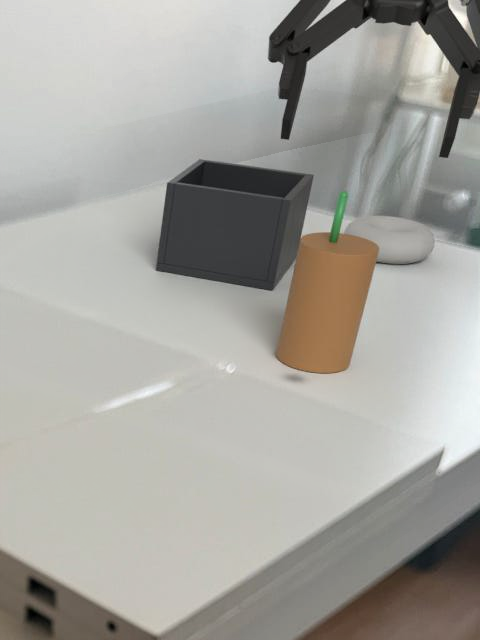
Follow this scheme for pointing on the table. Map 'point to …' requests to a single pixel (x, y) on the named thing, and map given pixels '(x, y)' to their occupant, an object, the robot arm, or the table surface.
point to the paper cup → (326, 298)
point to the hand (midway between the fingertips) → (364, 139)
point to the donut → (394, 238)
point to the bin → (233, 223)
